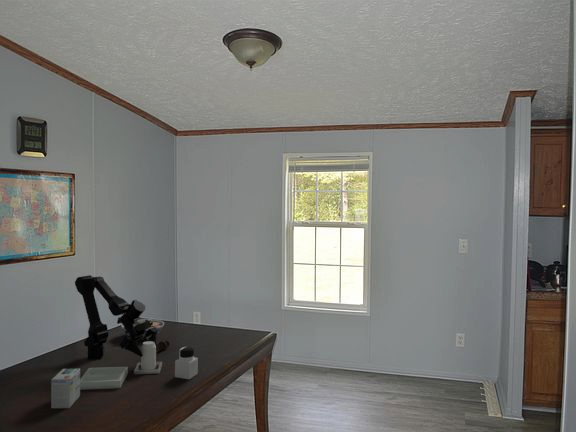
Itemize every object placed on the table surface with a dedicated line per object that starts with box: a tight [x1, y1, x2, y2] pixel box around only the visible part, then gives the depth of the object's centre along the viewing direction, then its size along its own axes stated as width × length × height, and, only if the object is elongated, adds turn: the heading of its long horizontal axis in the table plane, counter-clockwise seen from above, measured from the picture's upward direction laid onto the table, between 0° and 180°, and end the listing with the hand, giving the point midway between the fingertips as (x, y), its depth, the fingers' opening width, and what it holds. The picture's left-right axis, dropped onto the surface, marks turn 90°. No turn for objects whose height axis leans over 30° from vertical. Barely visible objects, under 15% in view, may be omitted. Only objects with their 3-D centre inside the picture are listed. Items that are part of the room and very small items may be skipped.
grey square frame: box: [133, 361, 163, 375], centre depth 206 cm, size 11×11×2 cm
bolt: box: [156, 340, 170, 356], centre depth 231 cm, size 6×5×15 cm
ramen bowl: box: [120, 316, 165, 340], centre depth 254 cm, size 25×23×8 cm
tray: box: [80, 366, 129, 391], centre depth 192 cm, size 16×16×3 cm
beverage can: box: [140, 340, 157, 370], centre depth 206 cm, size 6×6×12 cm
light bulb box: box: [50, 368, 81, 409], centre depth 171 cm, size 11×7×11 cm, turn 5°
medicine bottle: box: [174, 346, 199, 380], centre depth 199 cm, size 7×7×12 cm
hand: (149, 353), depth 206 cm, fingers open, 9 cm apart
